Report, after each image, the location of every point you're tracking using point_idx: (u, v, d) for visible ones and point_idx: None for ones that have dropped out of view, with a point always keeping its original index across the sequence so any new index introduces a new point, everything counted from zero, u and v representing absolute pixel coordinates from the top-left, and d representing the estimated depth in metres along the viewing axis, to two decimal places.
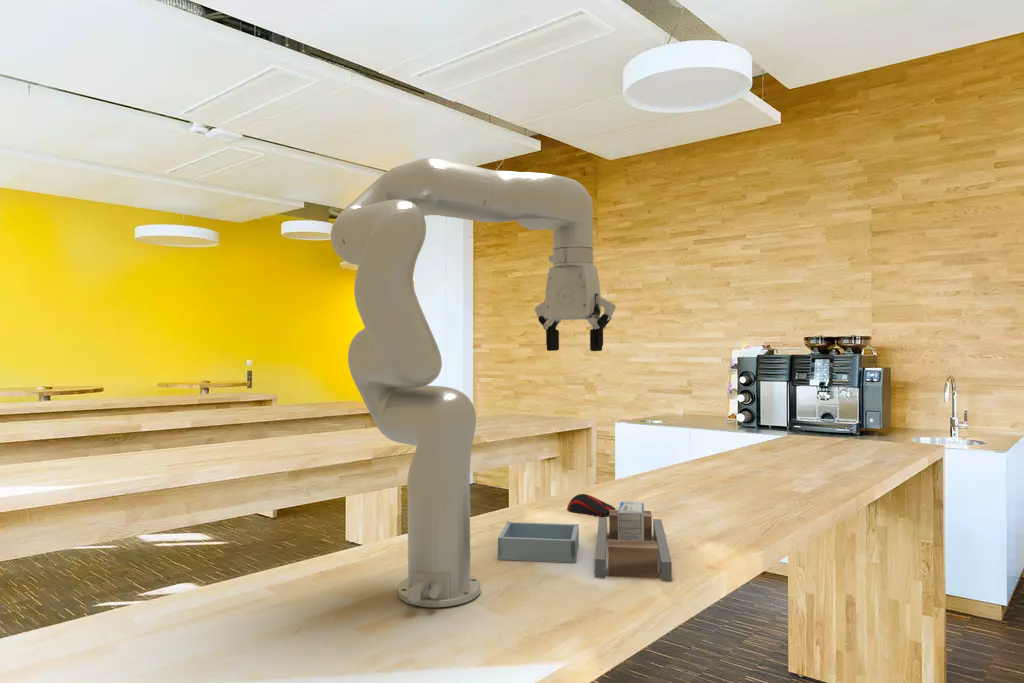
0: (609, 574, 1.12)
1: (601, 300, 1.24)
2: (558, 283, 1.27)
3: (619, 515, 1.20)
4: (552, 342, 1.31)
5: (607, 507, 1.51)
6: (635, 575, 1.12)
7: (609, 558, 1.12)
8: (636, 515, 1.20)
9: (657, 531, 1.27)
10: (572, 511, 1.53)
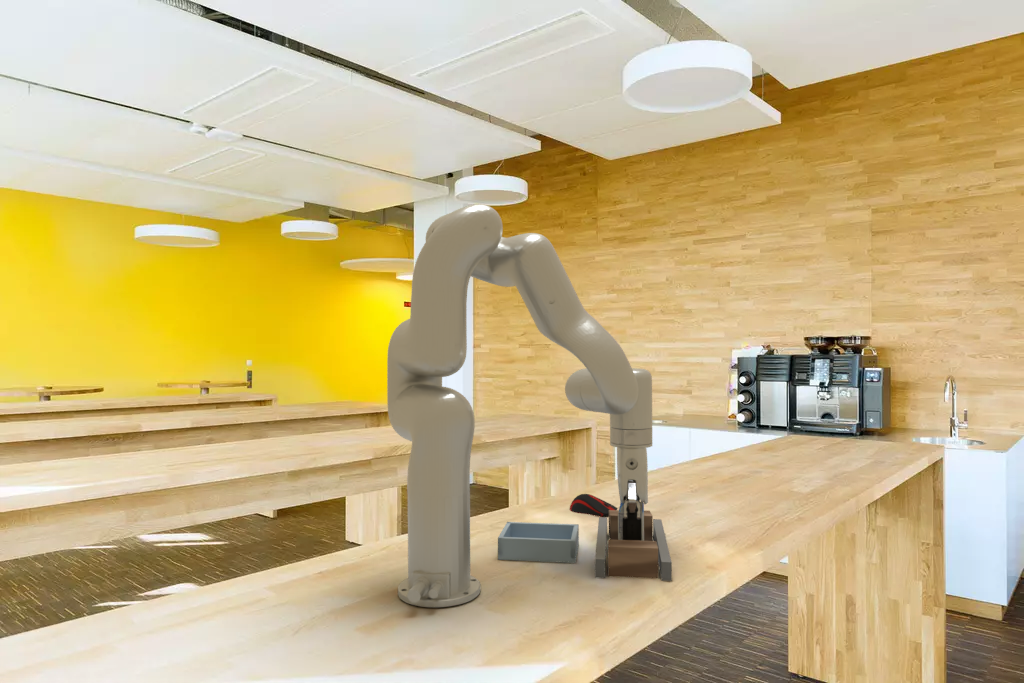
0: (609, 574, 1.12)
1: None
2: None
3: (619, 515, 1.20)
4: None
5: (609, 507, 1.51)
6: (635, 575, 1.12)
7: (609, 558, 1.12)
8: None
9: (657, 531, 1.27)
10: (574, 511, 1.53)
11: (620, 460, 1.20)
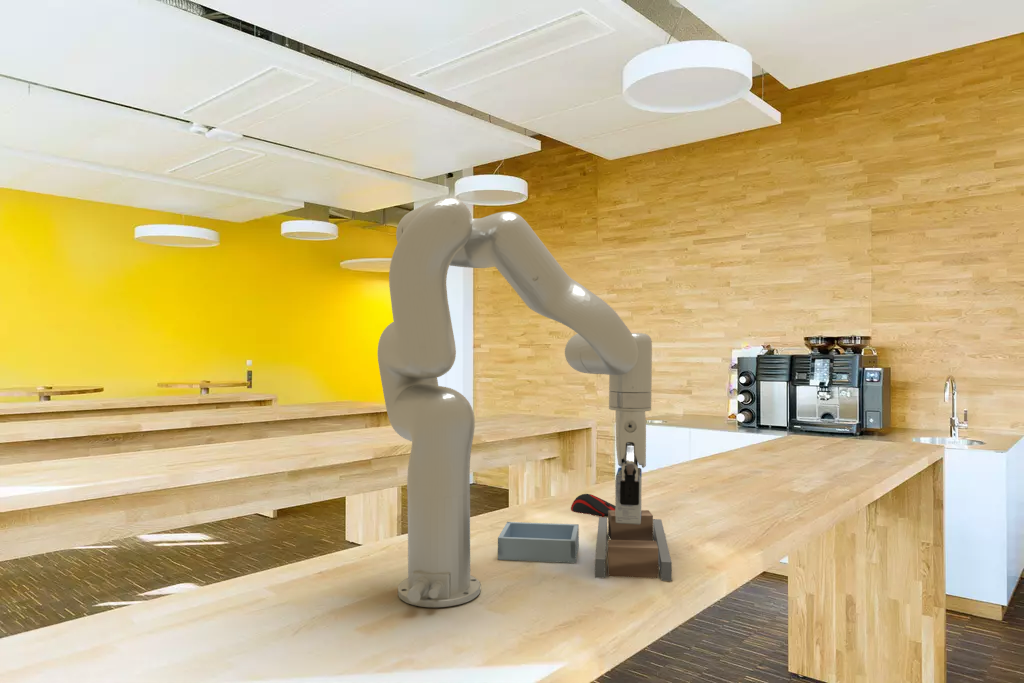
0: (609, 574, 1.12)
1: None
2: None
3: (617, 478, 1.20)
4: None
5: (610, 507, 1.51)
6: (635, 575, 1.12)
7: (609, 558, 1.12)
8: None
9: (657, 531, 1.27)
10: (575, 511, 1.53)
11: (619, 423, 1.19)
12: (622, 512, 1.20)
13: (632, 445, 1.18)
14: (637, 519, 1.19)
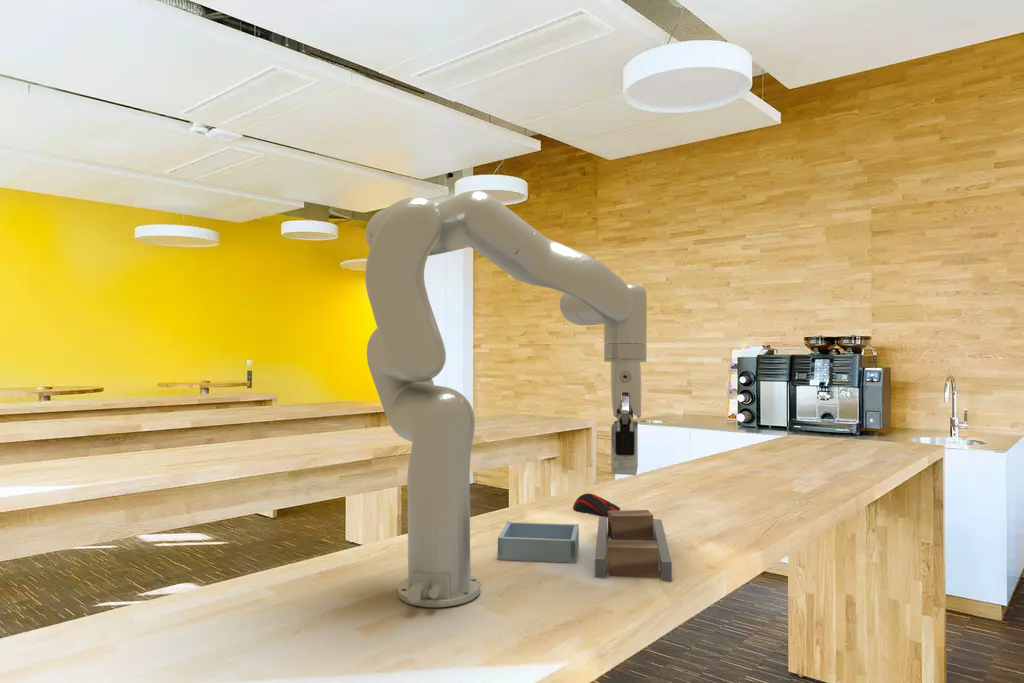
0: (609, 574, 1.12)
1: None
2: None
3: (612, 429, 1.20)
4: None
5: (611, 507, 1.51)
6: (635, 575, 1.12)
7: (609, 558, 1.12)
8: None
9: (657, 531, 1.27)
10: (577, 510, 1.54)
11: (614, 374, 1.20)
12: (618, 462, 1.20)
13: (627, 395, 1.18)
14: (633, 469, 1.19)
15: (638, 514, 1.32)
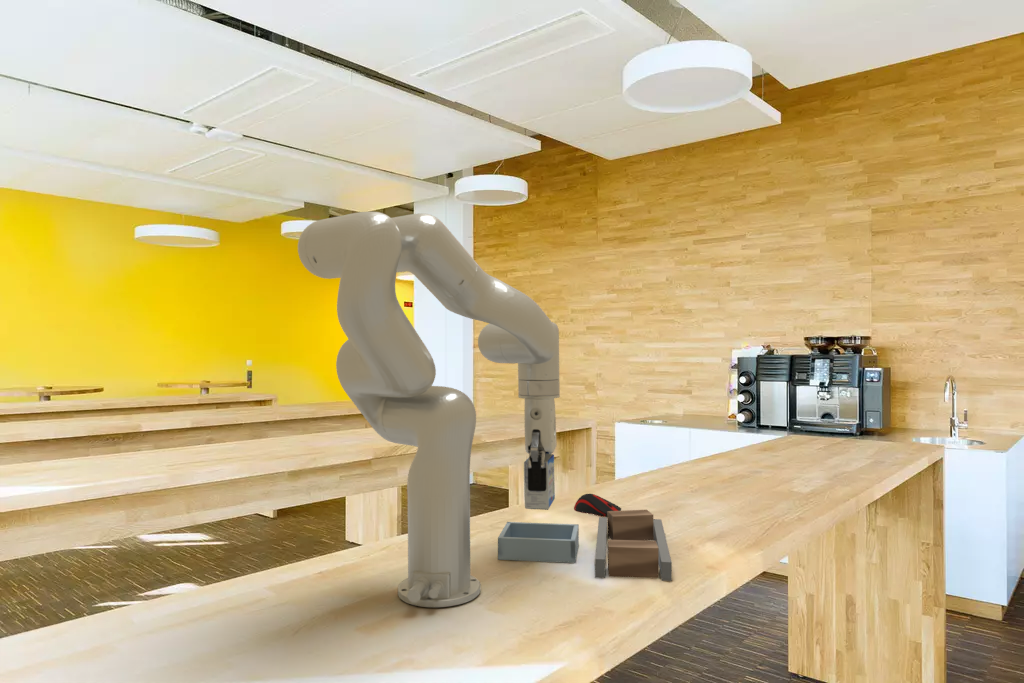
0: (610, 574, 1.12)
1: None
2: (553, 415, 1.23)
3: (525, 465, 1.22)
4: None
5: (612, 507, 1.51)
6: (636, 575, 1.12)
7: (610, 558, 1.12)
8: None
9: (657, 531, 1.27)
10: (578, 510, 1.54)
11: (525, 411, 1.21)
12: (531, 497, 1.22)
13: (538, 432, 1.20)
14: (545, 504, 1.21)
15: (638, 514, 1.32)
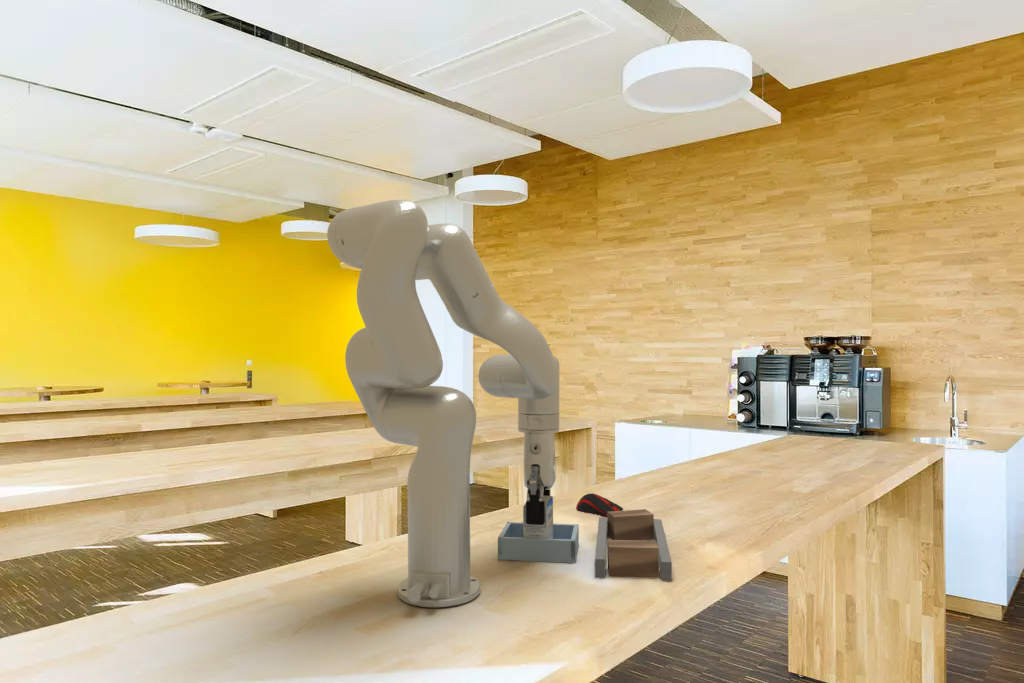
0: (610, 575, 1.12)
1: None
2: (553, 449, 1.23)
3: (524, 509, 1.21)
4: None
5: (614, 507, 1.51)
6: (636, 575, 1.12)
7: (610, 559, 1.12)
8: None
9: (657, 531, 1.27)
10: (580, 510, 1.54)
11: (525, 445, 1.21)
12: None
13: (537, 467, 1.20)
14: None
15: (639, 514, 1.33)
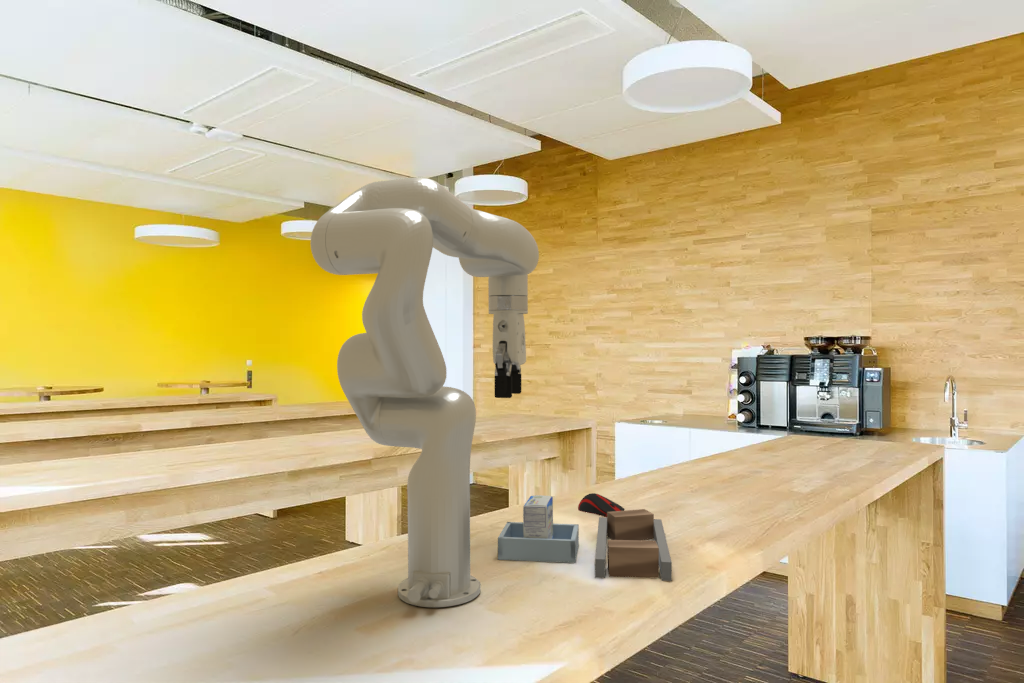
0: (610, 575, 1.12)
1: None
2: (521, 329, 1.29)
3: (524, 509, 1.21)
4: None
5: (615, 507, 1.51)
6: (636, 575, 1.12)
7: (610, 559, 1.12)
8: (541, 508, 1.21)
9: (657, 531, 1.27)
10: (581, 510, 1.54)
11: (493, 324, 1.28)
12: None
13: (505, 343, 1.26)
14: None
15: (639, 514, 1.33)
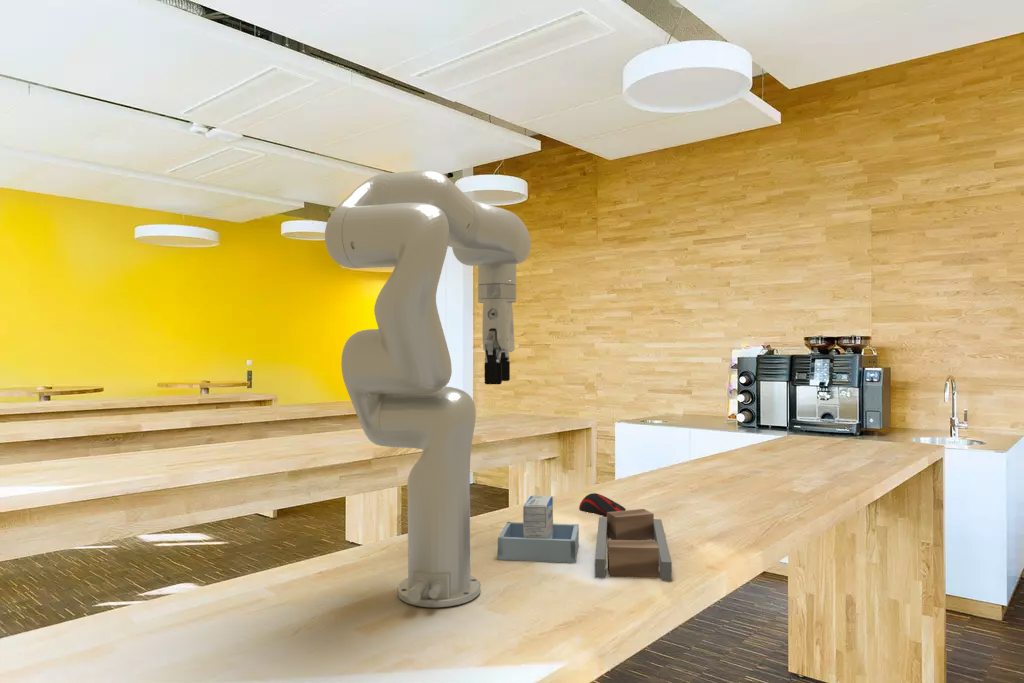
0: (610, 575, 1.12)
1: None
2: (510, 317, 1.32)
3: (524, 509, 1.21)
4: None
5: (616, 507, 1.51)
6: (636, 575, 1.12)
7: (610, 559, 1.12)
8: (541, 508, 1.21)
9: (657, 531, 1.27)
10: (582, 510, 1.54)
11: (483, 312, 1.30)
12: None
13: None
14: None
15: (639, 513, 1.33)
